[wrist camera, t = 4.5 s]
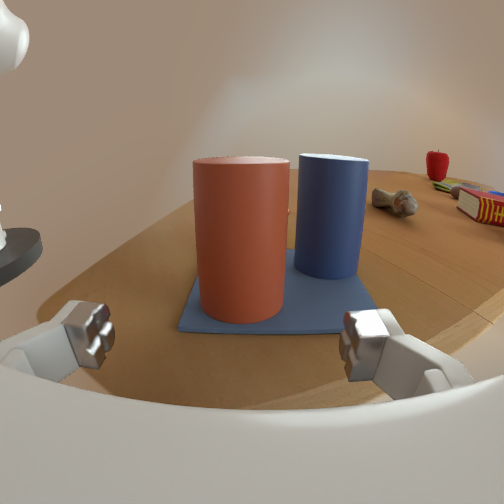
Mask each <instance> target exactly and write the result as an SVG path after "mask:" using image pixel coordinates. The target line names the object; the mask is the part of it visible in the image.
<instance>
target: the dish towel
mask: <svg viewBox="0 0 504 504" xmlns="http://www.w3.org/2000/svg"><path fill="white" fill-rule="evenodd" d="M432 184H433V186H434V187H435V188H437V189H439V190H442V191H446V192H449V193H450V188H451V187H452V186H453V185H462V186H464V187H465V188H467V189H472V190H477V191H481V192H483V190H482V188H480V187H479V186H475V185H471V184H468V183H461V182H457V181H454V180H449V179H447V180H444V181H442V182H440V183H437V182H433V183H432Z"/></svg>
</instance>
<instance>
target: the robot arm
mask: <svg viewBox="0 0 504 504" xmlns="http://www.w3.org/2000/svg"><path fill="white" fill-rule="evenodd" d="M28 45H29V31H28V28H27V25H26V24H25V22H24V21H23V20H22V19H20V18H18V17H16V16H15V15H14V14H12V13H11V12H10V11H9V10H8V8H7V7H6V5H5V4H4V1H3V0H0V76H1V75H3V74H6V73H9V72H11V71H14V70H15V69H16V68H17V67H18V65H19V64H20V63H21V61H22V60H23V58H24V56H25V54H26V52H27V49H28ZM0 210H1V206H0ZM6 236H7V235H6V232H5V231H4V230H3V231H2V228H1V224H0V250H1V249H2V248H3V247H4V246H5V245H6V240H5V238H6ZM109 316H110V311H109V308H108V306H107V305H106V304H103V303H94V302H86V301H78V300H70V301H69V302H68V303H67V304H66V305H65V306H64V307H63V308H62V309H61V310H60V311H59V312H58V313H57V314H56V315H55V316H54V317H53V318H52V319H51V321H50V322H44V323H42V324H39V325H37V326H35V327H32V328H30V329H28V330H25V331H23V332H21V333H18V334H16V335H14V336H11V337H9V338H7V339H4V340H2V341H0V504H504V374H502V375H499V376H496V377H493V378H489V379H486V380H483V381H479V382H475V381H474V379H473V378H472V377H471V375H470V373H469V372H468V370H467V369H466V367H465V366H464V365H463V363H462V362H460V361H458V360H456V359H454V358H452V357H451V356H449V355H447V354H445V353H443V352H441V351H439V350H437V349H435V348H434V347H432V346H430V345H428V344H426V343H424V342H422V341H420V340H419V339H417V338H415V337H413V336H411V335H405V333H404V332H403V330H402V329H401V327H400V326H399V324H398V322H397V321H396V319H395V318H394V316H393V315H392V313H391V312H390V310H389V309H375V310H362V311H346V312H345V315H344V318H343V324H344V326H345V329H344V330H343V331H342V332H341V334H340V339H339V351H340V356H341V359H342V360H343V361H345V362H346V363H345V367H344V369H345V372H346V375H347V378H348V381H349V382H355V381H369V380H373V382H374V383H375V384H376V385H377V386H379V387H380V388H381V389H382V390H383V391H384V392H385V393H386V394H388V395H389V396H390V397H391V398H392V399H393V401H387V402H381V403H373V404H365V405H356V406H346V407H335V408H321V409H302V410H234V409H214V408H200V407H189V406H179V405H170V404H162V403H154V402H147V401H141V400H134V399H128V398H123V397H117V396H112V395H107V394H102V393H97V392H92V391H88V390H84V389H80V388H76V387H72V386H68V385H64V384H60V383H59V382H60V381H61V380H63V379H64V378H66V377H67V376H68V375H70V374H71V373H72V372H74V371H75V370H77V369H78V368H79V367H85V368H91V369H97V370H99V369H100V367H101V366H102V364H103V362H104V360H105V359H106V356H105V353H106V352H108V351H110V350H111V348H112V347H113V345H114V340H115V330H114V326H113V324H112V323H111V322H110V321H109V320H108V319H109Z"/></svg>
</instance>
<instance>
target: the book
mask: <svg viewBox="0 0 504 504" xmlns="http://www.w3.org/2000/svg"><path fill="white" fill-rule="evenodd" d="M459 189H460V193H459V200H458V206H457V208H458V209H459V210H461V211H462V212H463V213H465V214H466V215H468V216H469V217H470V218H472V219H473V220H474V221H477V222H482V223H488V224H493V225H499V226H504V196H499V195H495V194H491V193H486V192H481V191H477V190H472V189H467V188H462V187H460V188H459Z"/></svg>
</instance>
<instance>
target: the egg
mask: <svg viewBox="0 0 504 504" xmlns="http://www.w3.org/2000/svg"><path fill="white" fill-rule="evenodd" d="M460 187H462V188H465V187H464V186H462V185H453V186H452V187H451V188H450V193H451V195H452V196H453V197H455V198H457V199H459V193H460V189H459V188H460Z"/></svg>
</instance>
